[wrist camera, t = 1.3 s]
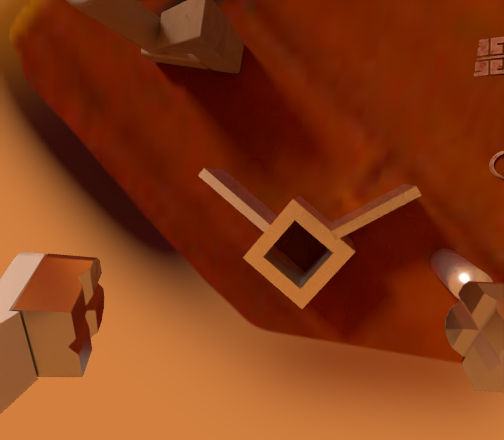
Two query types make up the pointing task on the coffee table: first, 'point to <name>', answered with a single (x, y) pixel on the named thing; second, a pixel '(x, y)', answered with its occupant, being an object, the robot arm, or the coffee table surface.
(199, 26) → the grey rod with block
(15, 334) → the robot arm
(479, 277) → the rounded cylinder
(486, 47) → the key
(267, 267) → the cream winged socket block
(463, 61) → the coffee table surface
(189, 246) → the coffee table surface
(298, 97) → the coffee table surface
